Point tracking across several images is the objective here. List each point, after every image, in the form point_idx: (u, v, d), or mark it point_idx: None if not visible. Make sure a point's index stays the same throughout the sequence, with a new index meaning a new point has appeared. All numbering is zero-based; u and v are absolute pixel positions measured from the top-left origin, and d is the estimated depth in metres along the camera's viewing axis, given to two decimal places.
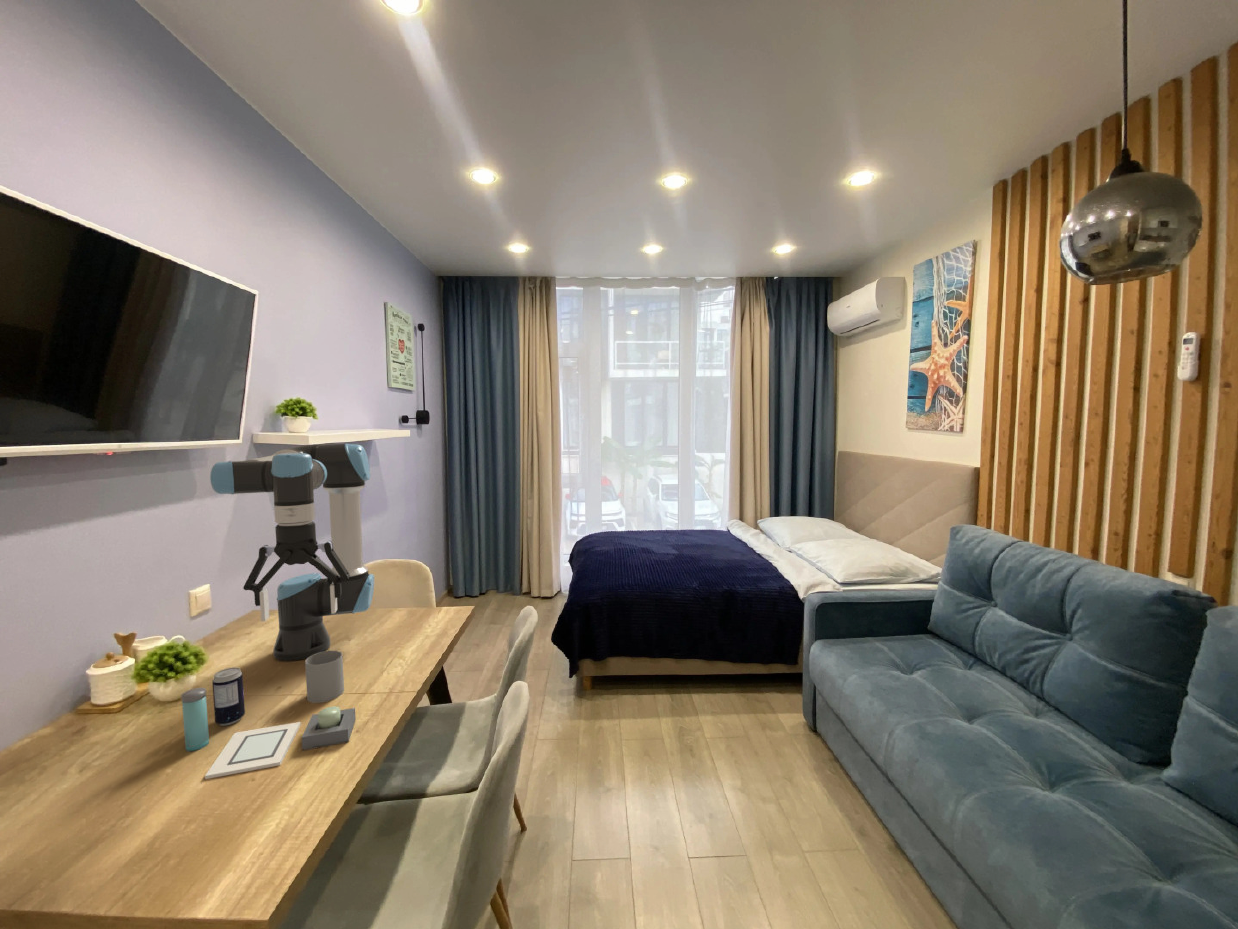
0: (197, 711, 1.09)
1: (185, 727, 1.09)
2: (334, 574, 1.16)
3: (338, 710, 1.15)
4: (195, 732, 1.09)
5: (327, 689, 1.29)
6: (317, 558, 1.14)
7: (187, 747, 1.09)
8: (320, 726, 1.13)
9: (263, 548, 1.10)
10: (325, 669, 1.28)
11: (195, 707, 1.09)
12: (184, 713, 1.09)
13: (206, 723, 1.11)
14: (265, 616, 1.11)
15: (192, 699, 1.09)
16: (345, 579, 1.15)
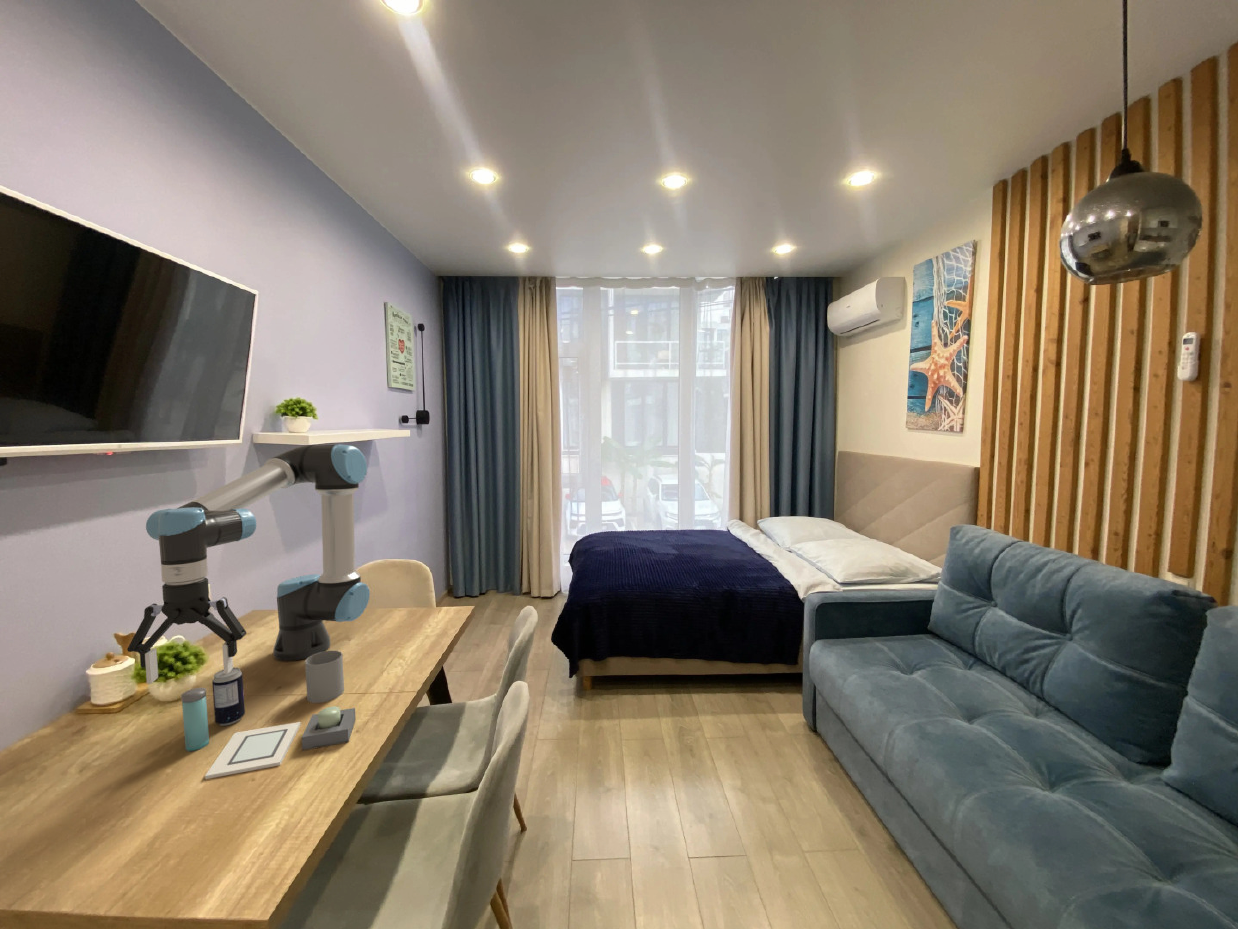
0: (197, 711, 1.09)
1: (185, 727, 1.09)
2: (228, 632, 1.11)
3: (338, 710, 1.15)
4: (195, 732, 1.09)
5: (327, 689, 1.29)
6: (209, 616, 1.10)
7: (187, 747, 1.09)
8: (320, 726, 1.13)
9: (148, 608, 1.06)
10: (325, 669, 1.28)
11: (195, 707, 1.09)
12: (184, 713, 1.09)
13: (206, 723, 1.11)
14: (152, 678, 1.07)
15: (192, 699, 1.09)
16: (239, 638, 1.11)
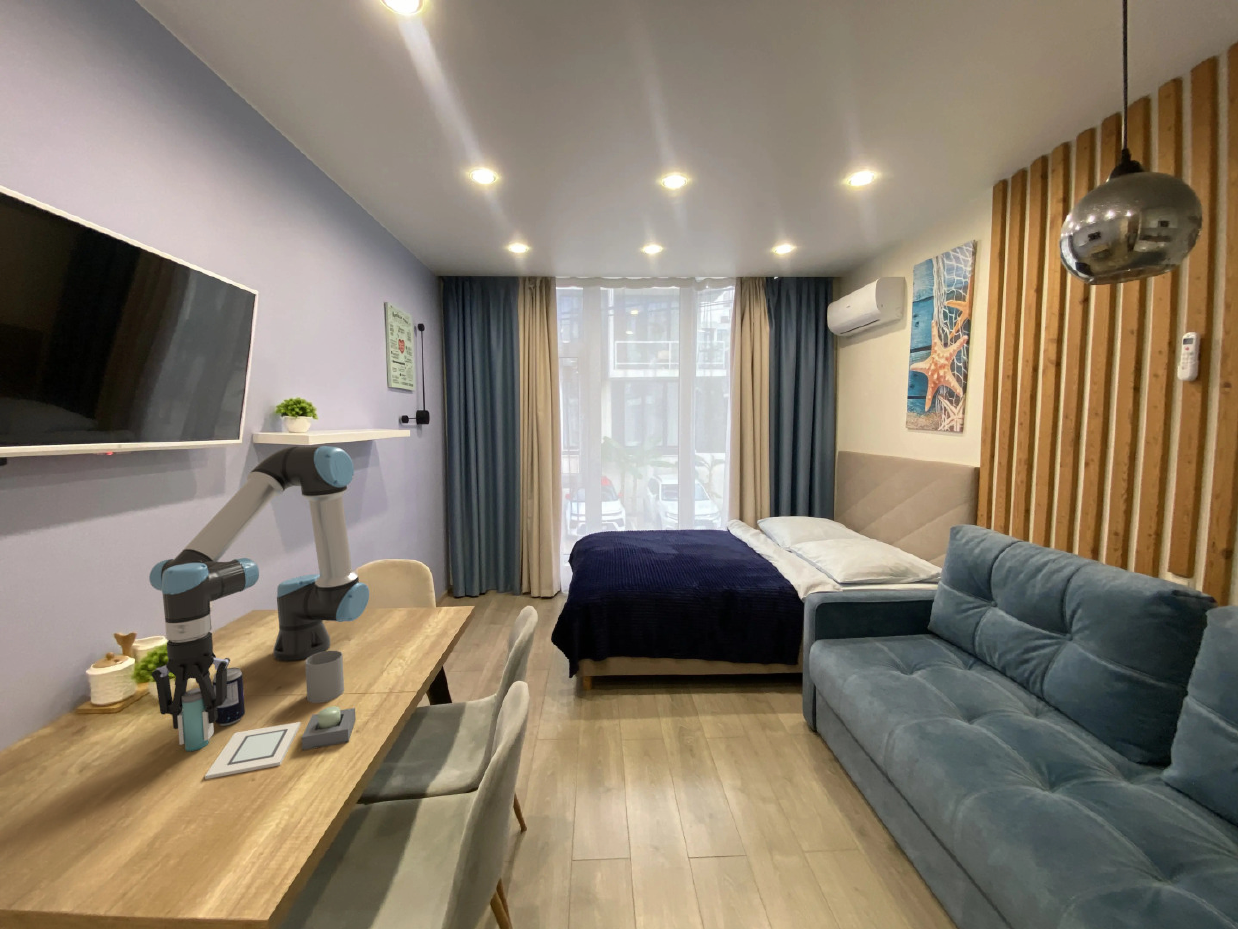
0: (197, 710, 1.09)
1: (185, 727, 1.09)
2: (212, 698, 1.11)
3: (338, 710, 1.15)
4: (195, 732, 1.09)
5: (327, 689, 1.29)
6: (206, 675, 1.11)
7: (187, 747, 1.09)
8: (320, 726, 1.13)
9: (154, 672, 1.07)
10: (325, 669, 1.28)
11: (195, 707, 1.09)
12: (184, 713, 1.09)
13: None
14: (184, 739, 1.10)
15: (192, 699, 1.09)
16: (218, 704, 1.11)
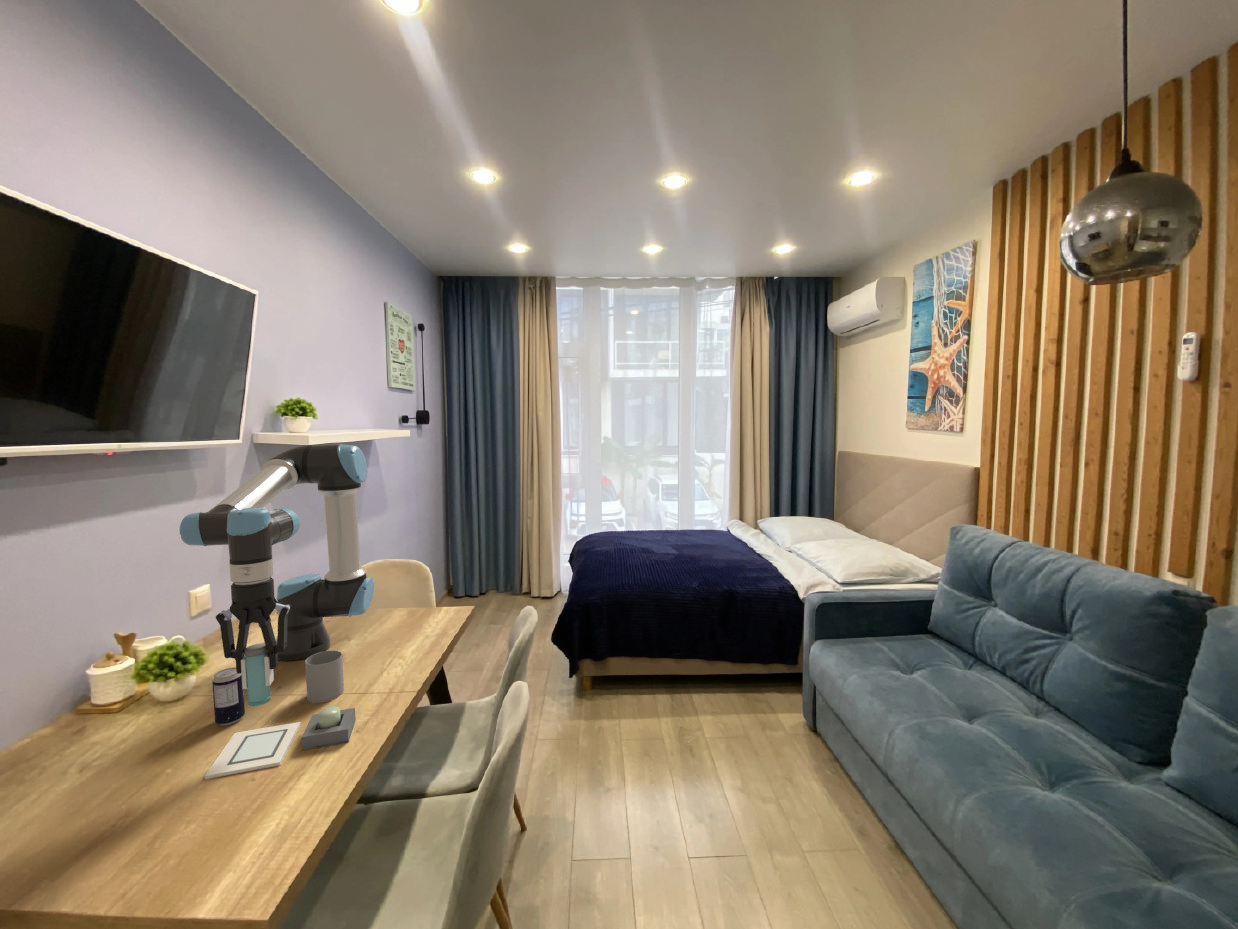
0: (260, 665, 1.09)
1: (248, 682, 1.09)
2: (274, 643, 1.11)
3: (338, 710, 1.15)
4: (258, 687, 1.09)
5: (327, 689, 1.29)
6: (268, 621, 1.11)
7: (250, 702, 1.09)
8: (320, 726, 1.13)
9: (218, 615, 1.06)
10: (325, 669, 1.28)
11: (258, 662, 1.09)
12: (247, 667, 1.08)
13: None
14: None
15: (255, 653, 1.08)
16: (280, 650, 1.10)
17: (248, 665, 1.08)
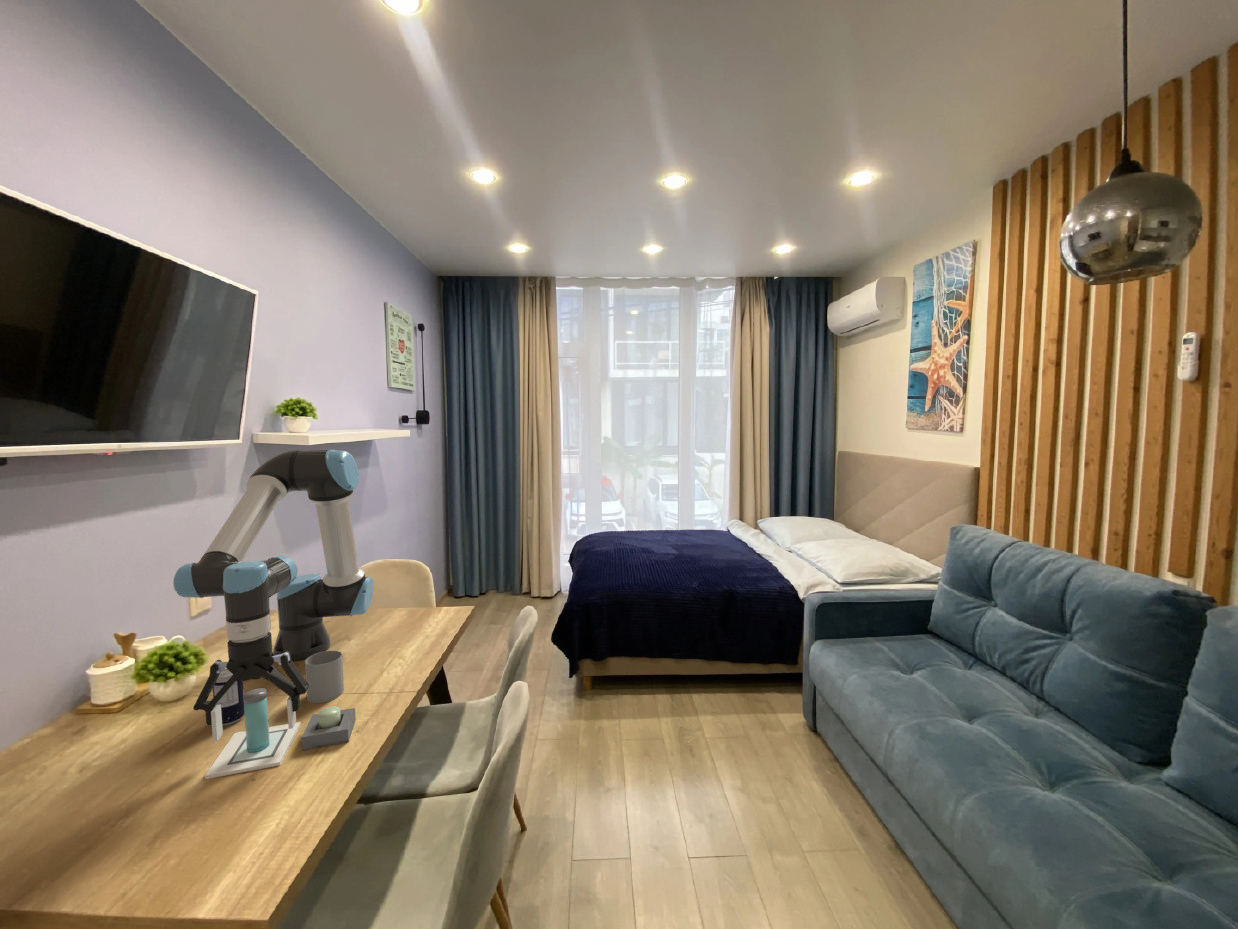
0: (259, 711, 1.08)
1: (247, 728, 1.07)
2: (292, 687, 1.10)
3: (338, 710, 1.15)
4: (257, 733, 1.07)
5: (327, 689, 1.29)
6: (273, 671, 1.09)
7: (249, 749, 1.07)
8: (320, 726, 1.13)
9: (214, 666, 1.04)
10: (325, 669, 1.28)
11: (257, 708, 1.07)
12: (246, 714, 1.07)
13: (267, 724, 1.09)
14: (217, 735, 1.05)
15: (254, 700, 1.07)
16: (303, 692, 1.09)
17: (247, 712, 1.07)
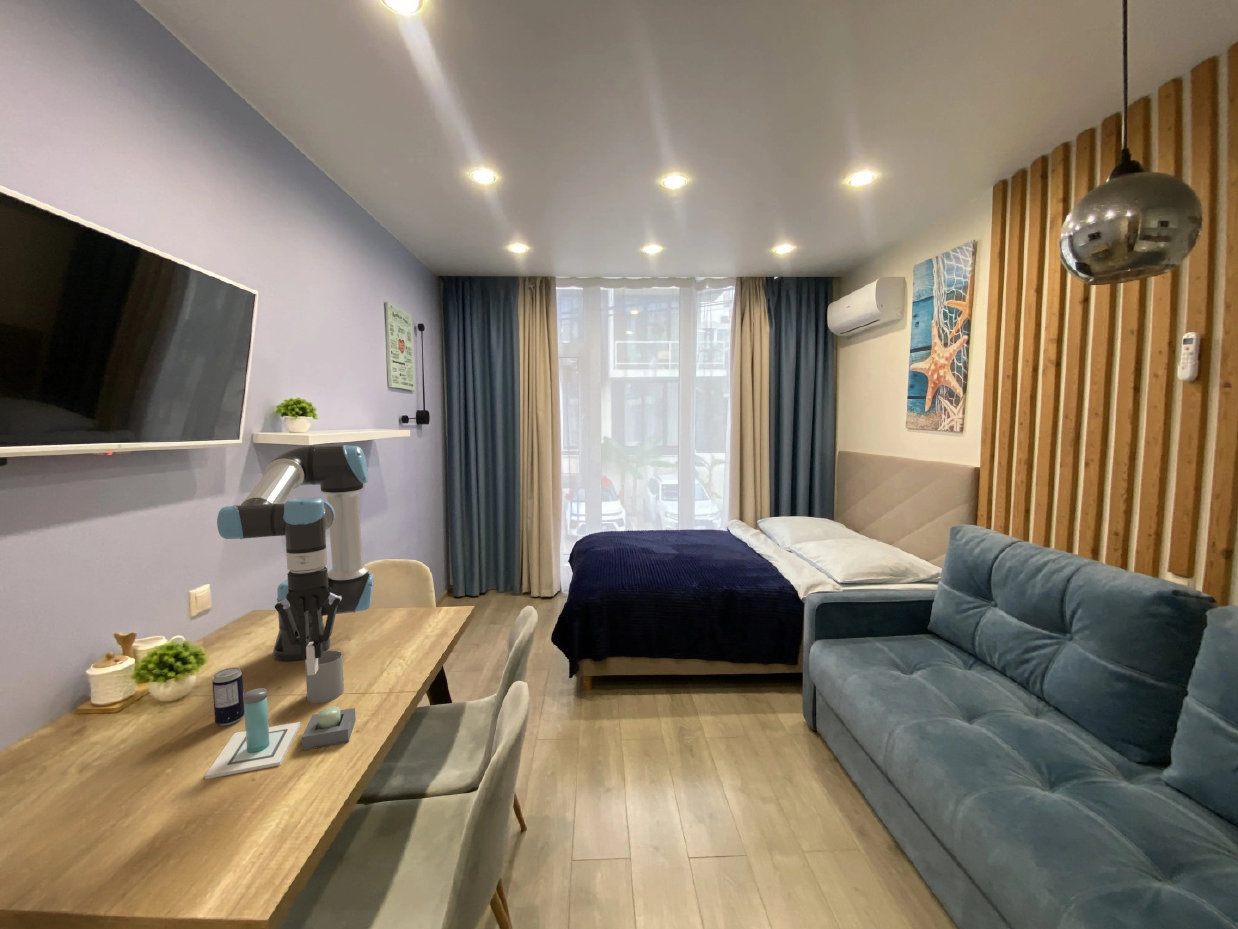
0: (259, 711, 1.08)
1: (247, 728, 1.07)
2: (320, 633, 1.12)
3: (338, 710, 1.15)
4: (257, 733, 1.07)
5: (327, 689, 1.29)
6: (319, 610, 1.12)
7: (249, 749, 1.07)
8: (320, 726, 1.13)
9: (277, 605, 1.08)
10: (325, 669, 1.28)
11: (257, 708, 1.07)
12: (246, 714, 1.07)
13: (267, 724, 1.09)
14: (311, 670, 1.12)
15: (254, 700, 1.07)
16: (325, 639, 1.12)
17: (247, 712, 1.07)
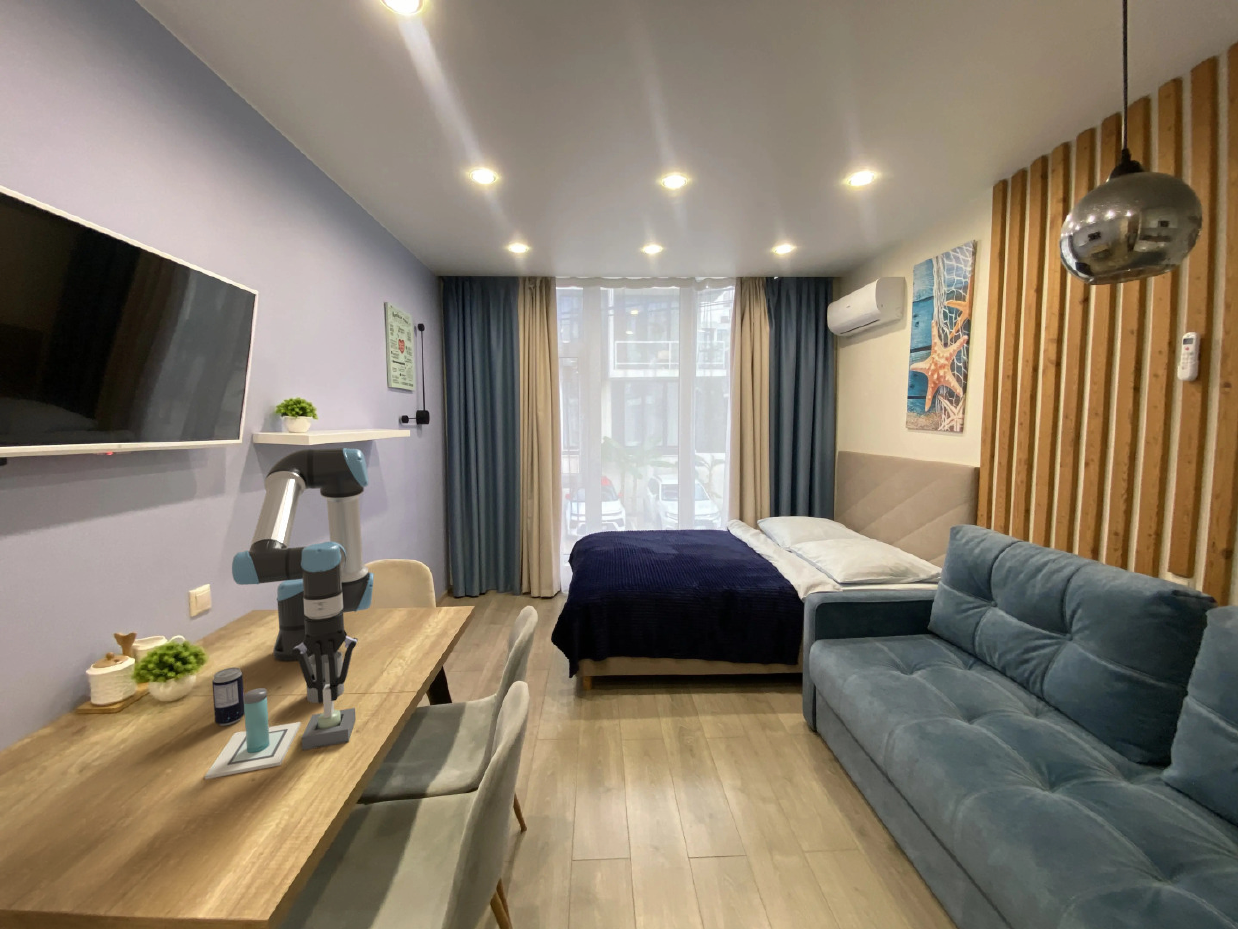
0: (259, 711, 1.08)
1: (247, 728, 1.07)
2: (336, 676, 1.14)
3: (338, 713, 1.15)
4: (257, 733, 1.07)
5: None
6: (335, 653, 1.14)
7: (249, 749, 1.07)
8: None
9: (294, 650, 1.10)
10: (325, 669, 1.28)
11: (257, 708, 1.07)
12: (246, 714, 1.07)
13: (267, 724, 1.09)
14: (328, 712, 1.14)
15: (254, 700, 1.07)
16: (341, 682, 1.14)
17: (247, 712, 1.07)
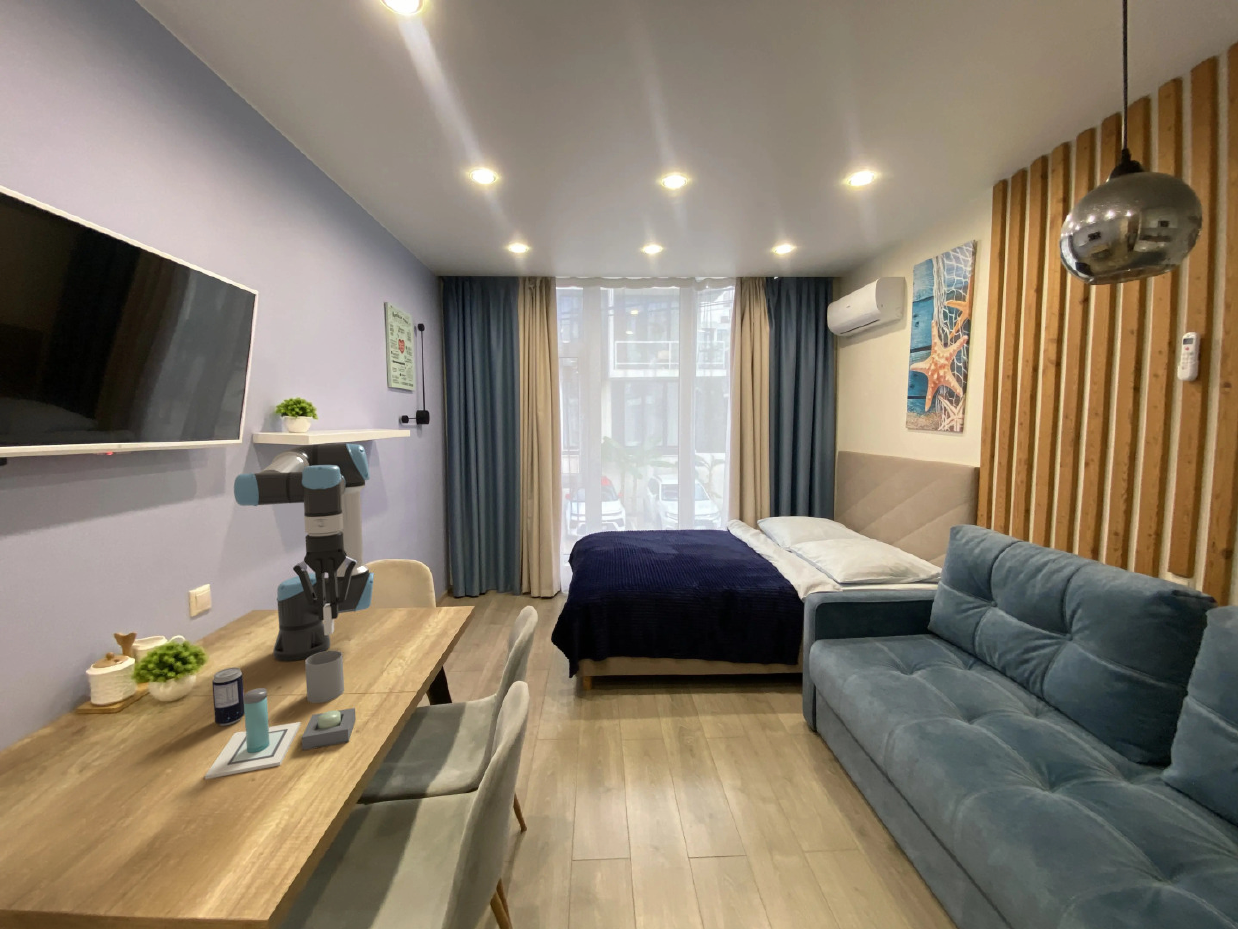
0: (259, 711, 1.08)
1: (247, 728, 1.07)
2: (336, 595, 1.17)
3: (338, 714, 1.15)
4: (257, 733, 1.07)
5: (327, 689, 1.29)
6: (335, 573, 1.17)
7: (249, 749, 1.07)
8: None
9: (295, 567, 1.13)
10: (325, 669, 1.28)
11: (257, 708, 1.07)
12: (246, 714, 1.07)
13: (267, 724, 1.09)
14: None
15: (254, 700, 1.07)
16: (341, 601, 1.16)
17: (247, 712, 1.07)
